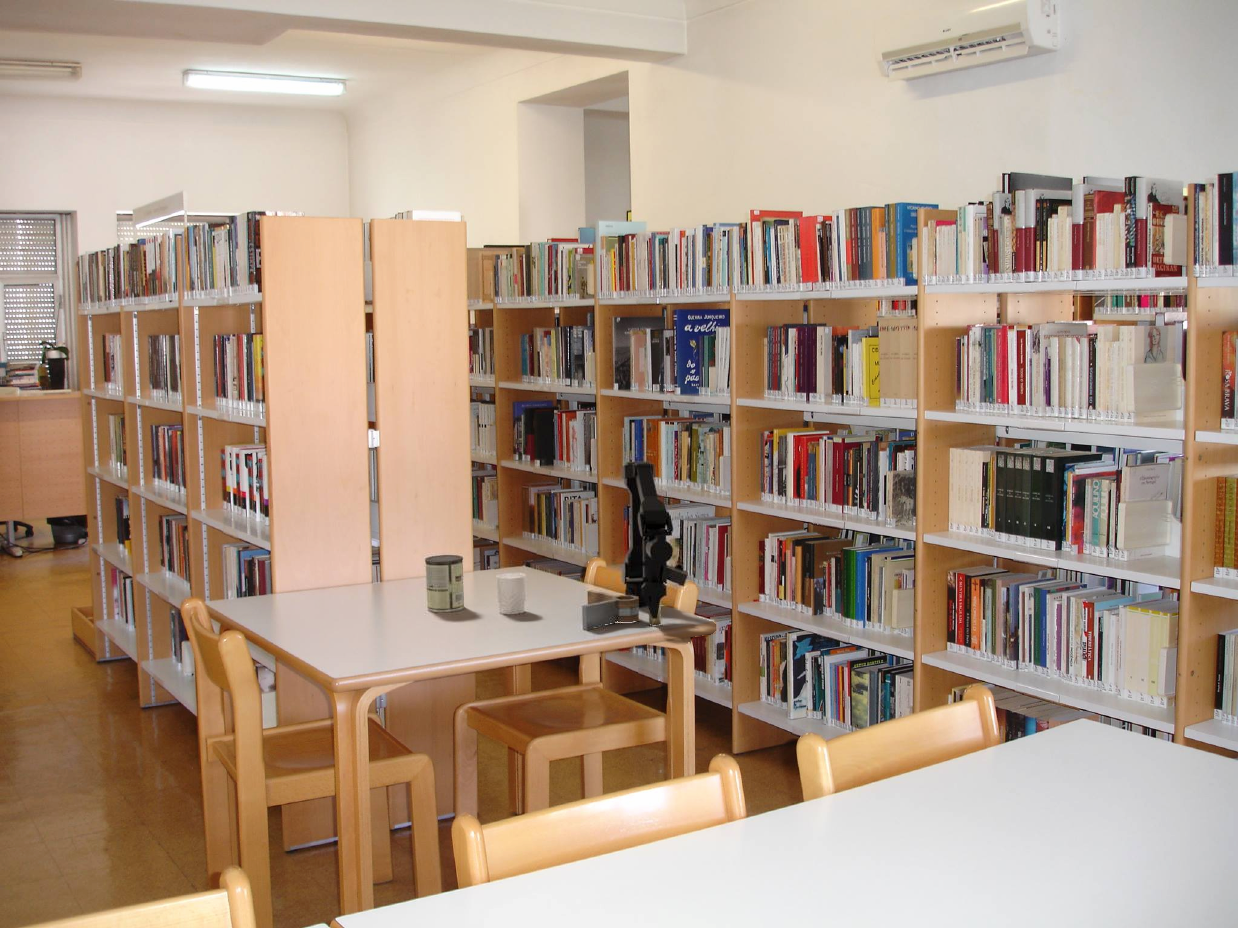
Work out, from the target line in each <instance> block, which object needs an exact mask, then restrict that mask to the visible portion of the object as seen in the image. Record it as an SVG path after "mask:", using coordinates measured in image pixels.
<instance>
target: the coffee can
mask: <svg viewBox="0 0 1238 928" xmlns="http://www.w3.org/2000/svg"><path fill="white" fill-rule="evenodd" d="M463 559H464V557H463V556H461V555H457V554H456V555H455V554H441V555H431V556H428V557H426V558H425V559H424V561H425V579H426V580H425V583H426V585H425V586H426V602H427V603H426V604H427V605H426V610H427V611H428V610H429V611H428V612H433V613H451V612H452V613H453V612H458V611H461V610H463V609H465V597H464V596H465V595H464V568H463V567H464V566H463V564H464V563H463Z"/></svg>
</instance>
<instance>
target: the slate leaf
mask: <svg viewBox="0 0 1238 928" xmlns="http://www.w3.org/2000/svg"><path fill="white" fill-rule="evenodd" d="M581 607H582V608H581V610H582V616H581V617H582V630H584V629H590V630H593V629H592V628H594V627H599V626H603V625H605V624H610V623H615V622H617V616H631V615H636V614H638V613H639V614H640V612H639V611H640V609H639V608H640V607H639V605H638V606H637V607H632V608H617V600H608V601H603V602H598V603H593V604H589V605H588V604H584V605H581ZM603 627H604V626H603ZM599 628H600V627H599ZM594 629H595V628H594Z"/></svg>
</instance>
